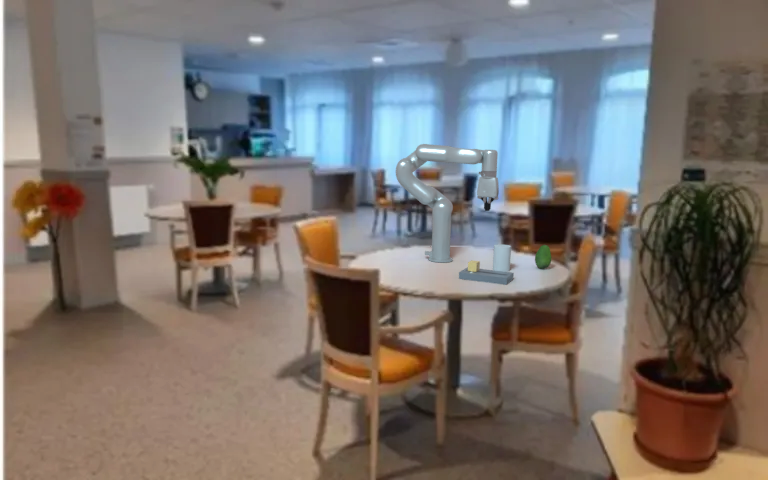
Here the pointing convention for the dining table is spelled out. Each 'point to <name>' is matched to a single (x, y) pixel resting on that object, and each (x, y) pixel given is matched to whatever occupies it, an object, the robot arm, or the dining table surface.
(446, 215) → the robot arm
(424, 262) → the dining table surface
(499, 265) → the light blue cylinder
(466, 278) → the board
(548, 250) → the avocado
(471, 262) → the fader knob
